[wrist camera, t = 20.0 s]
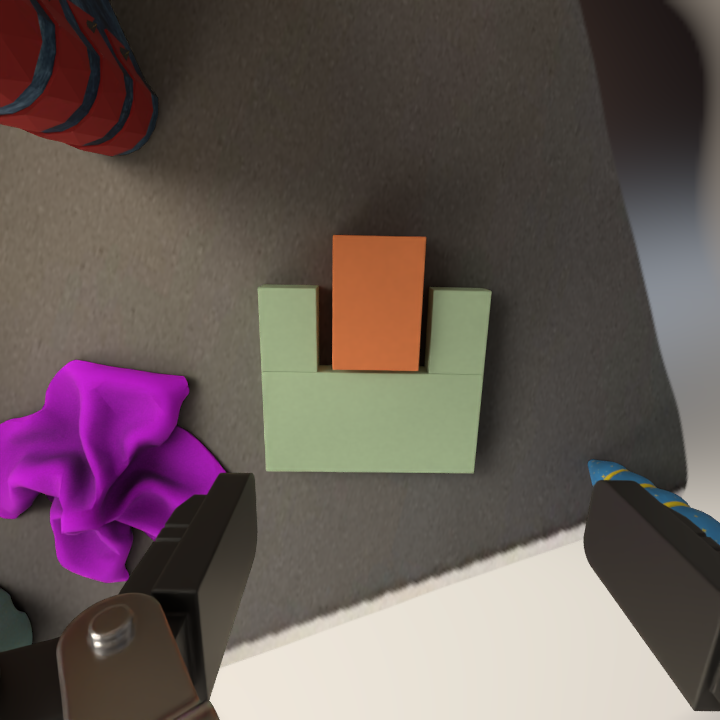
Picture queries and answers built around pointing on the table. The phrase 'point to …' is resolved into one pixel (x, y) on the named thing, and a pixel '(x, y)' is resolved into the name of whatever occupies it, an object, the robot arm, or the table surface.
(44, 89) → the book
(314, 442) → the pale green notched block
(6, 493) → the cloth
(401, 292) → the orange rectangular block
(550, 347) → the table surface
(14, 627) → the flower pot
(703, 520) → the ornament
